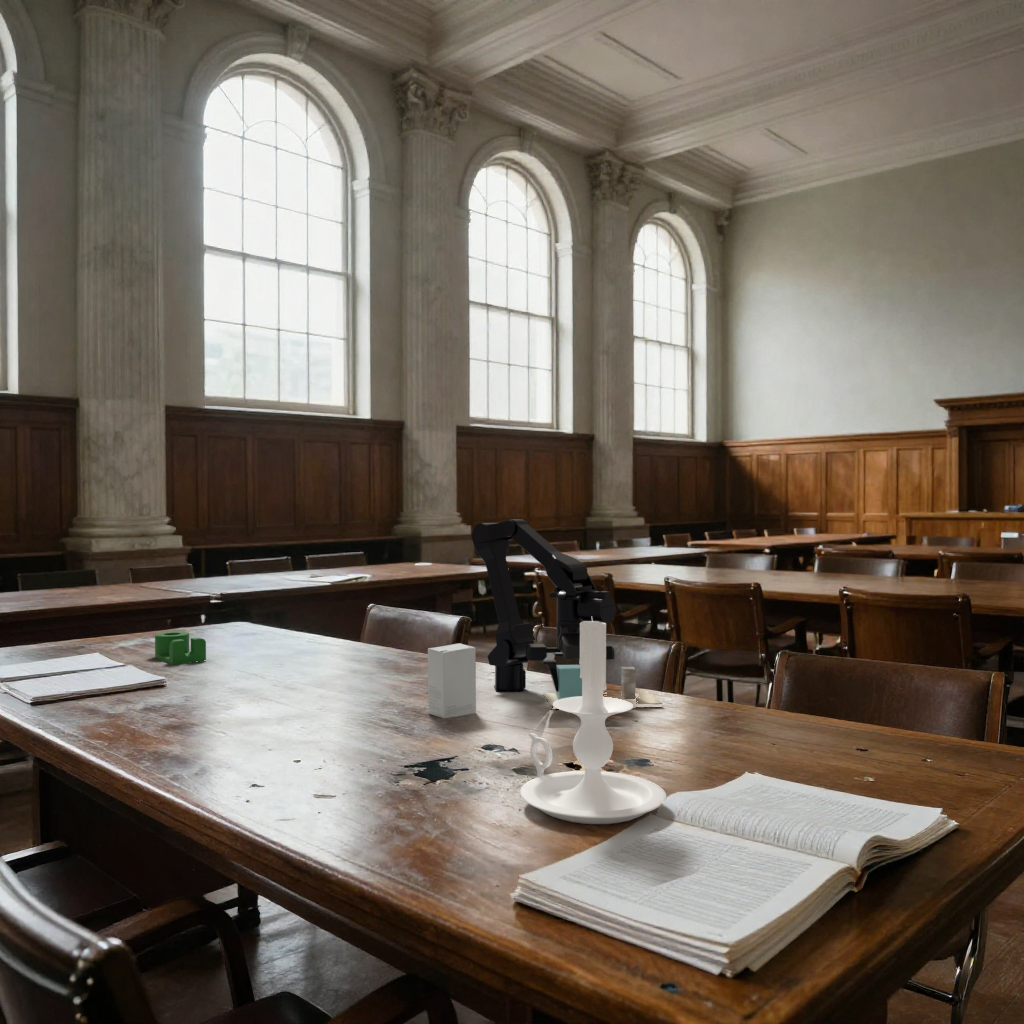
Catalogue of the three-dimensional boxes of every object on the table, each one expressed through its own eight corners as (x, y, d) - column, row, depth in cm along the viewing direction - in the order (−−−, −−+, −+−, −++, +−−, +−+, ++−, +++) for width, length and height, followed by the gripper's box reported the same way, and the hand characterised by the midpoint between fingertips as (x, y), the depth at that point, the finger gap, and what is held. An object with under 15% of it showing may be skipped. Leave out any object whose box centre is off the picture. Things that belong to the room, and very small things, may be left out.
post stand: (550, 710, 195) (550, 674, 195) (543, 697, 207) (543, 664, 207) (662, 707, 198) (662, 672, 197) (648, 695, 209) (648, 662, 209)
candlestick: (580, 776, 149) (581, 602, 149) (697, 819, 129) (698, 619, 129) (474, 801, 137) (475, 611, 136) (585, 853, 117) (586, 631, 116)
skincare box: (459, 714, 191) (460, 642, 191) (477, 719, 186) (477, 646, 186) (426, 720, 186) (426, 646, 186) (443, 726, 181) (443, 650, 181)
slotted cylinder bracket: (150, 656, 261) (150, 633, 260) (182, 653, 266) (182, 630, 266) (172, 665, 247) (172, 641, 246) (206, 661, 252) (205, 638, 252)
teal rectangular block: (559, 700, 199) (559, 669, 199) (556, 694, 204) (556, 665, 204) (583, 699, 199) (583, 669, 199) (579, 694, 204) (579, 664, 204)
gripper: (531, 625, 192) (531, 700, 193) (620, 624, 194) (619, 698, 194) (525, 618, 203) (525, 689, 204) (609, 617, 205) (609, 687, 206)
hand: (569, 691), depth 202 cm, fingers closed on teal rectangular block, 5 cm apart
